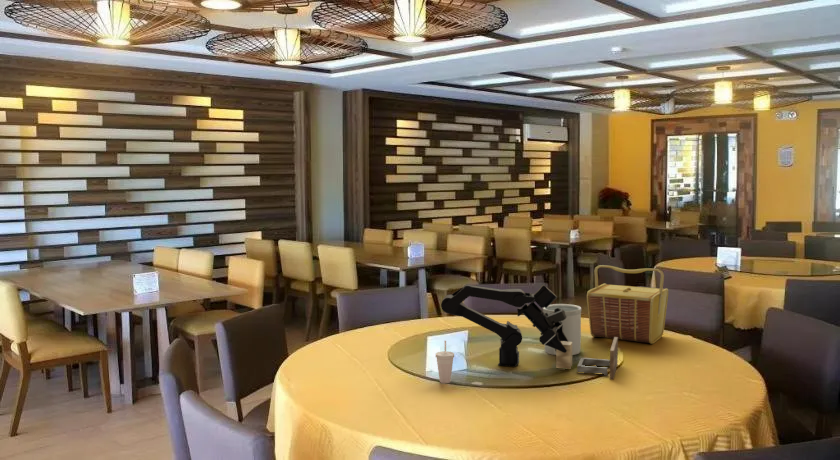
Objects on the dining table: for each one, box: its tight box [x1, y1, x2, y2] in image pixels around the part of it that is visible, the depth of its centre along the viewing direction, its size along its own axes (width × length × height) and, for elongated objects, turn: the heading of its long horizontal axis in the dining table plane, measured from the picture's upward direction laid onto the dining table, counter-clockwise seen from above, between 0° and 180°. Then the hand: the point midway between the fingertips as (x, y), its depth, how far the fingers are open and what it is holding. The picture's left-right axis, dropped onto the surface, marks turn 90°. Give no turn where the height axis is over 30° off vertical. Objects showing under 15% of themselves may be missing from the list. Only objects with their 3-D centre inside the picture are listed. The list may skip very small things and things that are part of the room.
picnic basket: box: [586, 264, 669, 345], centre depth 301 cm, size 29×26×30 cm
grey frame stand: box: [576, 337, 619, 380], centre depth 254 cm, size 13×20×10 cm, turn 161°
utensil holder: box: [542, 303, 582, 356], centre depth 280 cm, size 15×15×18 cm
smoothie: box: [435, 340, 455, 384], centre depth 243 cm, size 6×6×14 cm
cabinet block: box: [555, 341, 573, 369], centre depth 258 cm, size 6×5×9 cm
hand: (567, 348), depth 258 cm, fingers open, 9 cm apart
